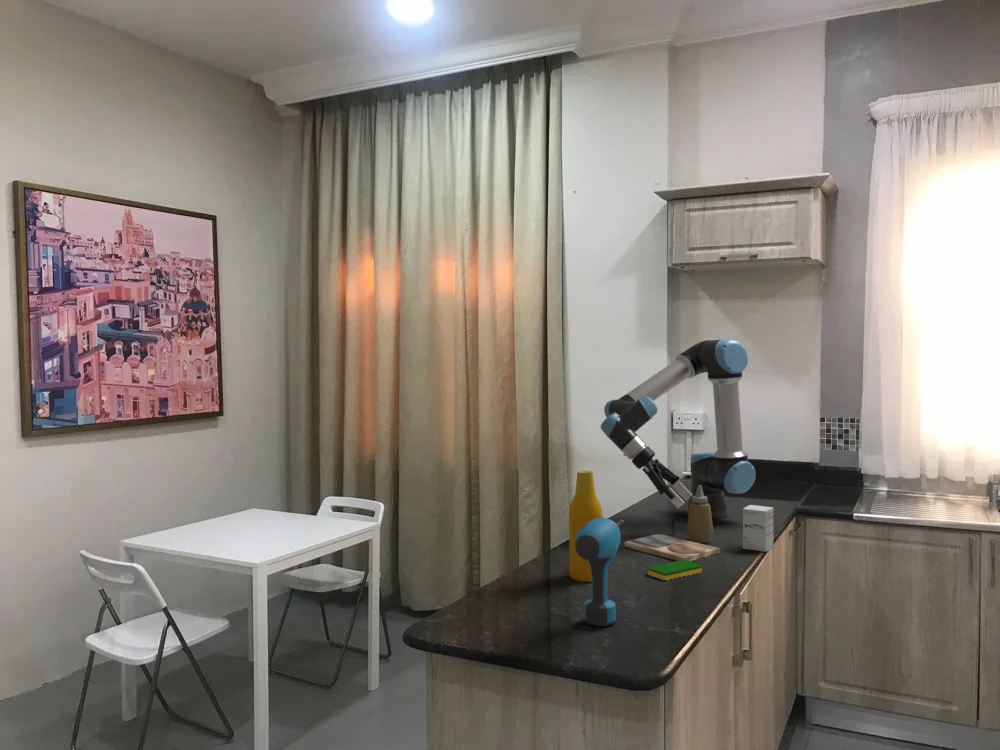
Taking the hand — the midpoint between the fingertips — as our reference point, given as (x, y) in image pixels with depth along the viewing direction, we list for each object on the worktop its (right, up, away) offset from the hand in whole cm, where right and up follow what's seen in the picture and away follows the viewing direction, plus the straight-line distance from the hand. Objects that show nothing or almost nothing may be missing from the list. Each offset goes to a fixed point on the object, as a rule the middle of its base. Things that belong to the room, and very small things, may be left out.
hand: (685, 501), depth 245 cm
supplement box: (+20, -13, -10) cm, 26 cm away
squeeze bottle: (+5, -13, 0) cm, 14 cm away
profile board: (-7, -13, -10) cm, 18 cm away
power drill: (-35, -16, -67) cm, 77 cm away
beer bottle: (-36, -15, -36) cm, 53 cm away
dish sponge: (-11, -15, -34) cm, 39 cm away
